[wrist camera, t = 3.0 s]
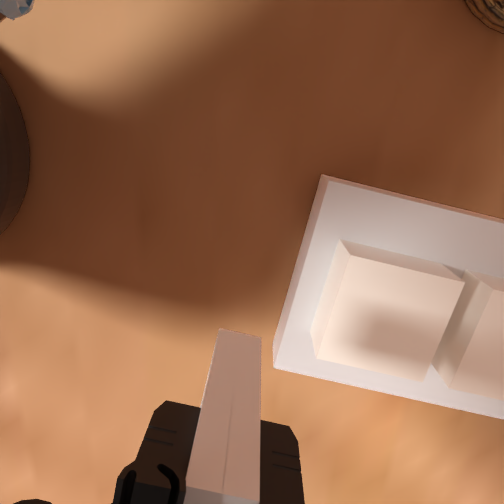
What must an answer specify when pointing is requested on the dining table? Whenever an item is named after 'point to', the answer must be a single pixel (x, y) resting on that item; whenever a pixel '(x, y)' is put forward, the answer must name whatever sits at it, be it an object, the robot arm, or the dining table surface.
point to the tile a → (383, 310)
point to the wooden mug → (489, 12)
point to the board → (392, 239)
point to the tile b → (475, 339)
